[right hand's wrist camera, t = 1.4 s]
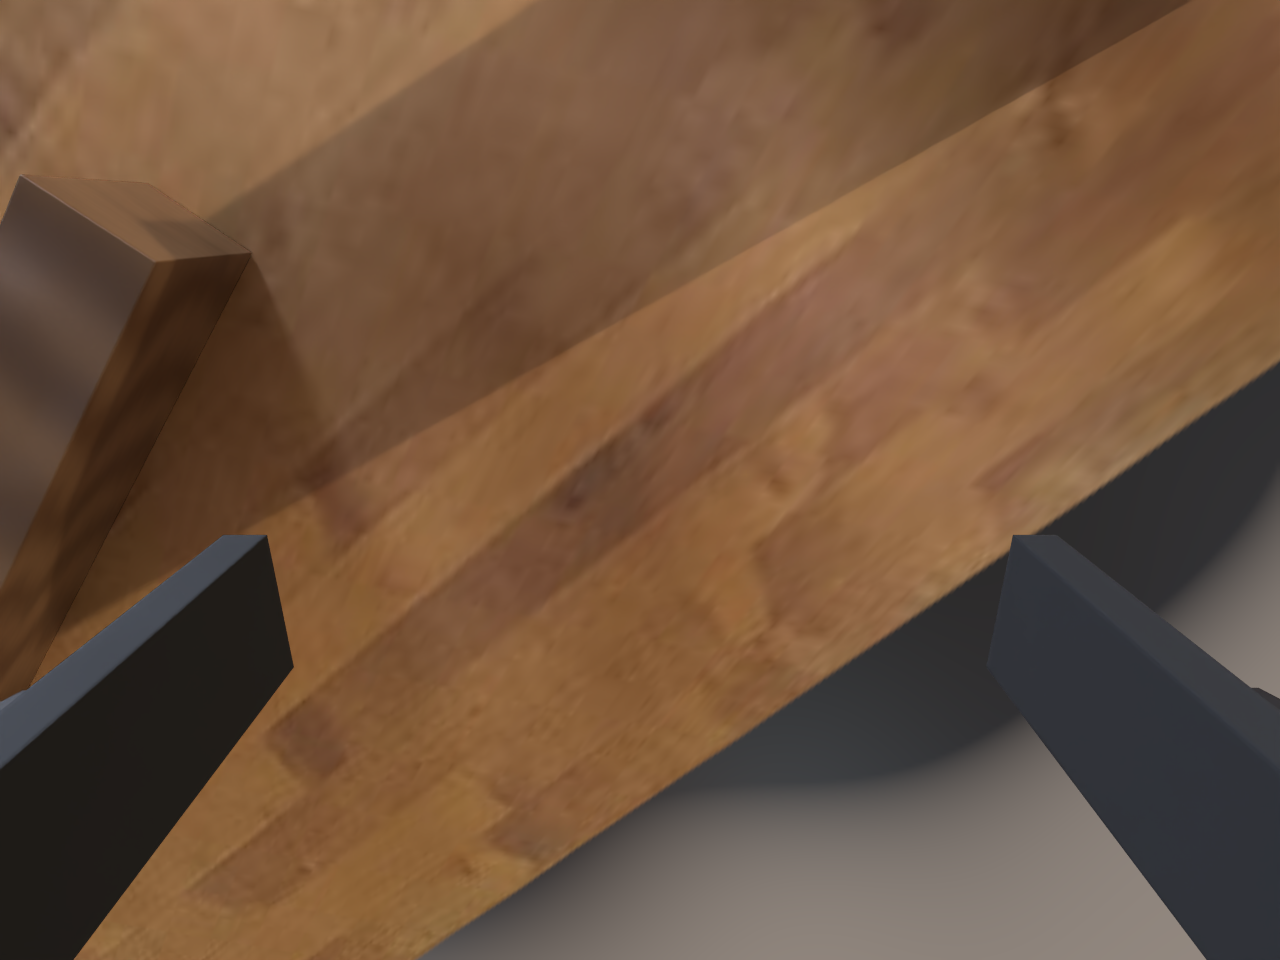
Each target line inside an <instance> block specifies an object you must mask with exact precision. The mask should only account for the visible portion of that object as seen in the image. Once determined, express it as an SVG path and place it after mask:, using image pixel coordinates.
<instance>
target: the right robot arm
mask: <svg viewBox="0 0 1280 960" xmlns="http://www.w3.org/2000/svg"><path fill="white" fill-rule="evenodd" d="M293 667H294V666H293V661H292V656H291V651H290V646H289V641H288V636H287V632H286V627H285V622H284V617H283V612H282V607H281V602H280V597H279V592H278V587H277V582H276V577H275V572H274V567H273V562H272V558H271V553H270V548H269V543H268V538H267V535H223V536H222V537H220V538H219V539H218V540H216V541H215V542H214V543H213V544H211V545H210V546H209V547H208V548H206V549H205V550H204V551H203V552H201V553H200V554H199V555H197V556H196V557H195V558H194V559H192V560H191V561H190V562H189V563H187V564H186V565H185V566H183V567H182V568H181V569H180V570H178V571H177V572H176V573H175V574H173V575H172V576H171V577H169V578H168V579H167V580H166V581H164V582H163V583H162V584H161V585H159V586H158V587H157V588H155V589H154V590H153V591H152V592H150V593H149V594H148V595H147V596H145V597H144V598H143V599H142V600H140V601H139V602H138V603H136V604H135V605H134V606H133V607H131V608H130V609H129V610H128V611H126V612H125V613H124V614H122V615H121V616H120V617H119V618H117V619H116V620H115V621H114V622H112V623H111V624H110V625H108V626H107V627H106V628H105V629H103V630H102V631H101V632H100V633H98V634H97V635H96V636H94V637H93V638H92V639H91V640H89V641H88V642H87V643H86V644H84V645H83V646H82V647H81V648H79V649H78V650H77V651H75V652H74V653H73V654H72V655H70V656H69V657H68V658H67V659H65V660H64V661H63V662H61V663H60V664H59V665H58V666H56V667H55V668H54V669H53V670H51V671H50V672H49V673H47V674H46V675H45V676H44V677H42V678H41V679H40V680H39V681H37V682H36V683H35V684H33V685H32V686H31V687H30V688H28V689H27V690H22V691H20V692H18V693H17V694H15V695H13V696H11V697H9V698H7V699H5V700H3V701H1V702H0V960H74V958H75V957H76V956H77V954H78V953H79V952H80V950H81V949H82V948H83V946H84V945H85V944H86V942H87V941H88V940H89V938H90V937H91V936H92V934H93V933H94V932H95V930H96V929H97V928H98V926H99V925H100V924H101V922H102V921H103V920H104V918H105V917H106V916H107V914H108V913H109V912H110V910H111V909H112V908H113V906H114V905H115V904H116V902H117V901H118V900H119V898H120V897H121V896H122V895H123V893H124V892H125V891H126V889H127V888H128V887H129V885H130V884H131V883H132V881H133V880H134V879H135V877H136V876H137V875H138V873H139V872H140V871H141V869H142V868H143V867H144V865H145V864H146V863H147V861H148V860H149V859H150V857H151V856H152V855H153V853H154V852H155V851H156V849H157V848H158V847H159V845H160V844H161V843H162V841H163V840H164V839H165V837H166V836H167V835H168V833H169V832H170V831H171V829H172V828H173V827H174V825H175V824H176V823H177V821H178V820H179V819H180V817H181V816H182V815H183V813H184V812H185V811H186V810H187V808H188V807H189V806H190V804H191V803H192V802H193V800H194V799H195V798H196V796H197V795H198V794H199V792H200V791H201V790H202V788H203V787H204V786H205V784H206V783H207V782H208V780H209V779H210V778H211V776H212V775H213V774H214V772H215V771H216V770H217V768H218V767H219V766H220V764H221V763H222V762H223V760H224V759H225V758H226V756H227V755H228V754H229V752H230V751H231V750H232V748H233V747H234V746H235V744H236V743H237V742H238V740H239V739H240V738H241V736H242V735H243V734H244V732H245V731H246V730H247V729H248V727H249V726H250V725H251V723H252V722H253V721H254V719H255V718H256V717H257V715H258V714H259V713H260V711H261V710H262V709H263V707H264V706H265V705H266V703H267V702H268V701H269V699H270V698H271V697H272V695H273V694H274V693H275V691H276V690H277V689H278V687H279V686H280V685H281V683H282V682H283V681H284V679H285V678H286V677H287V675H288V674H289V673H290V671H291V670H292V669H293ZM986 667H987V669H988V670H989V671H990V673H991V674H992V675H993V677H994V678H995V679H996V681H997V682H998V683H999V685H1000V686H1001V687H1002V689H1003V690H1004V691H1005V693H1006V694H1007V695H1008V697H1009V698H1010V699H1011V701H1012V702H1013V703H1014V705H1015V706H1016V707H1017V708H1018V710H1019V711H1020V712H1021V714H1022V715H1023V717H1024V718H1025V719H1026V720H1027V722H1028V723H1029V724H1030V726H1031V727H1032V729H1033V730H1034V731H1035V732H1036V734H1037V735H1038V736H1039V738H1040V739H1041V740H1042V742H1043V743H1044V744H1045V746H1046V747H1047V748H1048V750H1049V751H1050V752H1051V754H1052V755H1053V756H1054V758H1055V759H1056V760H1057V762H1058V763H1059V764H1060V766H1061V767H1062V768H1063V770H1064V771H1065V772H1066V774H1067V775H1068V776H1069V778H1070V779H1071V780H1072V782H1073V783H1074V784H1075V785H1076V787H1077V788H1078V790H1079V791H1080V792H1081V794H1082V795H1083V796H1084V798H1085V799H1086V800H1087V802H1088V803H1089V804H1090V806H1091V807H1092V808H1093V810H1094V811H1095V812H1096V813H1097V815H1098V816H1099V817H1100V819H1101V820H1102V821H1103V823H1104V824H1105V825H1106V827H1107V828H1108V829H1109V831H1110V832H1111V833H1112V835H1113V836H1114V837H1115V839H1116V840H1117V841H1118V843H1119V844H1120V845H1121V847H1122V848H1123V849H1124V851H1125V852H1126V853H1127V855H1128V856H1129V857H1130V859H1131V860H1132V861H1133V863H1134V864H1135V865H1136V867H1137V868H1138V869H1139V871H1140V872H1141V873H1142V875H1143V876H1144V877H1145V879H1146V880H1147V881H1148V883H1149V884H1150V885H1151V887H1152V888H1153V889H1154V890H1155V892H1156V893H1157V894H1158V896H1159V897H1160V898H1161V900H1162V901H1163V902H1164V904H1165V905H1166V906H1167V908H1168V909H1169V910H1170V912H1171V913H1172V914H1173V916H1174V917H1175V918H1176V920H1177V921H1178V922H1179V924H1180V925H1181V926H1182V928H1183V929H1184V930H1185V932H1186V933H1187V934H1188V936H1189V937H1190V938H1191V940H1192V941H1193V942H1194V944H1195V945H1196V946H1197V948H1198V949H1199V950H1200V952H1201V953H1202V954H1203V956H1204V957H1205V958H1206V960H1280V699H1279V698H1277V697H1275V696H1273V695H1271V694H1269V693H1267V692H1265V691H1263V690H1262V689H1260V688H1250V687H1249V686H1248V685H1246V684H1245V683H1244V682H1243V681H1241V680H1240V679H1239V678H1238V677H1236V676H1235V675H1234V674H1233V673H1231V672H1230V671H1229V670H1227V669H1226V668H1225V667H1224V666H1222V665H1221V664H1220V663H1219V662H1217V661H1216V660H1215V659H1213V658H1212V657H1211V656H1210V655H1208V654H1207V653H1206V652H1205V651H1203V650H1202V649H1201V648H1199V647H1198V646H1197V645H1196V644H1194V643H1193V642H1192V641H1191V640H1189V639H1188V638H1187V637H1185V636H1184V635H1183V634H1182V633H1180V632H1179V631H1178V630H1177V629H1175V628H1174V627H1173V626H1171V625H1170V624H1169V623H1168V622H1166V621H1165V620H1164V619H1163V618H1161V617H1160V616H1159V615H1158V614H1156V613H1155V612H1154V611H1152V610H1151V609H1150V608H1149V607H1147V606H1146V605H1145V604H1144V603H1142V602H1141V601H1140V600H1138V599H1137V598H1136V597H1135V596H1133V595H1132V594H1131V593H1130V592H1128V591H1127V590H1126V589H1125V588H1123V587H1122V586H1121V585H1119V584H1118V583H1117V582H1116V581H1114V580H1113V579H1112V578H1110V577H1109V576H1108V575H1107V574H1105V573H1104V572H1103V571H1102V570H1100V569H1099V568H1098V567H1097V566H1095V565H1094V564H1093V563H1091V562H1090V561H1089V560H1088V559H1086V558H1085V557H1084V556H1083V555H1081V554H1080V553H1079V552H1077V551H1076V550H1075V549H1074V548H1072V547H1071V546H1070V545H1068V544H1067V543H1066V542H1065V541H1063V540H1062V539H1061V538H1060V537H1058V536H1057V535H1013V538H1012V543H1011V548H1010V553H1009V558H1008V563H1007V567H1006V572H1005V577H1004V582H1003V587H1002V592H1001V597H1000V602H999V607H998V612H997V617H996V622H995V627H994V632H993V637H992V641H991V646H990V651H989V656H988V661H987V666H986Z"/></svg>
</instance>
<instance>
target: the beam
mask: <svg viewBox="0 0 1280 960" xmlns="http://www.w3.org/2000/svg"><path fill="white" fill-rule="evenodd" d="M251 254H252V253H251V252H250V251H248V250H247V249H245V248H244V247H242V246H241V245H239V244H238V243H236V242H235V241H233V240H232V239H230V238H229V237H227V236H226V235H224V234H223V233H221V232H220V231H218V230H217V229H215V228H214V227H212V226H211V225H209V224H208V223H206V222H205V221H203V220H202V219H200V218H199V217H197V216H196V215H195V214H193V213H192V212H190V211H189V210H187V209H186V208H184V207H183V206H181V205H180V204H178V203H177V202H175V201H174V200H172V199H171V198H169V197H168V196H166V195H165V194H163V193H162V192H160V191H159V190H157V189H156V188H154V187H153V186H151V185H150V184H148V183H138V182H123V181H109V180H94V179H79V178H65V177H50V176H36V175H20V176H19V178H18V181H17V183H16V186H15V189H14V191H13V194H12V196H11V199H10V201H9V204H8V206H7V209H6V211H5V214H4V216H3V219H2V221H1V224H0V702H1V701H3V700H5V699H7V698H9V697H11V696H13V695H15V694H17V693H18V692H20V691H22V690H27V689H28V688H29V686H30V684H31V682H32V680H33V678H34V676H35V674H36V672H37V670H38V668H39V666H40V664H41V662H42V660H43V658H44V656H45V655H46V653H47V651H48V649H49V647H50V645H51V643H52V641H53V639H54V637H55V635H56V633H57V631H58V629H59V627H60V625H61V623H62V621H63V620H64V618H65V616H66V614H67V612H68V610H69V608H70V606H71V604H72V602H73V600H74V598H75V596H76V594H77V592H78V590H79V588H80V587H81V585H82V583H83V581H84V579H85V577H86V575H87V573H88V571H89V569H90V567H91V565H92V563H93V561H94V559H95V557H96V555H97V553H98V552H99V550H100V548H101V546H102V544H103V542H104V540H105V538H106V536H107V534H108V532H109V530H110V528H111V526H112V524H113V522H114V520H115V519H116V517H117V515H118V513H119V511H120V509H121V507H122V505H123V503H124V501H125V499H126V497H127V495H128V493H129V491H130V489H131V487H132V485H133V484H134V482H135V480H136V478H137V476H138V474H139V472H140V470H141V468H142V466H143V464H144V462H145V460H146V458H147V456H148V454H149V452H150V450H151V449H152V447H153V445H154V443H155V441H156V439H157V437H158V435H159V433H160V431H161V429H162V427H163V425H164V423H165V421H166V419H167V417H168V416H169V414H170V412H171V410H172V408H173V406H174V404H175V402H176V400H177V398H178V396H179V394H180V392H181V390H182V388H183V386H184V384H185V382H186V381H187V379H188V377H189V375H190V373H191V371H192V369H193V367H194V365H195V363H196V361H197V359H198V357H199V355H200V353H201V351H202V349H203V348H204V346H205V344H206V342H207V340H208V338H209V336H210V334H211V332H212V330H213V328H214V326H215V324H216V322H217V320H218V318H219V316H220V314H221V313H222V311H223V309H224V307H225V305H226V303H227V301H228V299H229V297H230V295H231V293H232V291H233V289H234V287H235V285H236V283H237V281H238V279H239V278H240V276H241V274H242V272H243V270H244V268H245V266H246V264H247V262H248V260H249V258H250V256H251Z"/></svg>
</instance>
